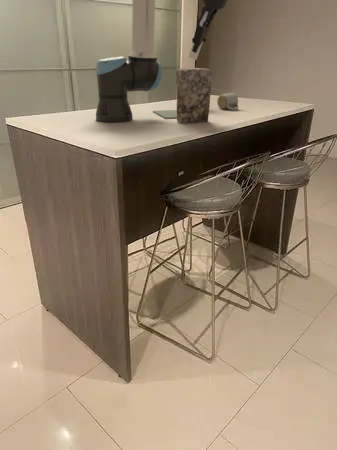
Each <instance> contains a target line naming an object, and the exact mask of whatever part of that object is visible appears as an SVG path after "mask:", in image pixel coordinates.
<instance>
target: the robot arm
mask: <svg viewBox="0 0 337 450" xmlns="http://www.w3.org/2000/svg"><path fill="white" fill-rule="evenodd" d="M202 2H203V3H204V6H203V7H202V9H201V14H200V18H198V20H197V24H196V25H197V26H196V29H195V30H194V31H195V32H194V36H193V37H192V39H191V41H192V42H191V43H192V46H191V48H190V50H189V51H190V52H189V54H188V58H189V59H191V60H193V61H196V60H197V59H198V57H199V54H200V51H201V48H202V45H203V43H204V42H205V43H206V42H207V38H206V37H207V36H208V32H209V31H210V28H211V26H212V23H213V21H214V19H215V18H216V14H217V13H218V11H219V10H222V9H224V8H225V6H226V5H227V2H228V0H202ZM131 13H132V16H131V17H132V23H131V25H132V26H131V27H132V28H131V29H132V30H131V31H132V32H131V33H132V34H131V35H132V39H131V40H132V41H131V42H132V43H131V44H132V45H131V48H132V49H131V52H130V53H128V58H127V59H126V56H114V57H113V56H112V57H106V58H100V59H99V60H97V62H96V72H95V73H96V80H97V92H98V93H97V95H98V102H97V106H96V112H95V120H96V121H98V122H104V123H106V122H107V123H121V122H122V123H124V122H129V121H132V120H133V112H132V109H131V106H130V103H129V100H128V92H129V93H130V92H131V93H132V92H148V91H155V90H156V89H157V88H158V87H159V85H160V84H161V82H162V77H163V68H162V64H161V62H160V61H158V56H157V55H156V53H155V52H154V45H155V43H154V41H155V18H156V0H132V12H131Z"/></svg>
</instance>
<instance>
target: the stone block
mask: <svg viewBox="0 0 337 450" xmlns="http://www.w3.org/2000/svg"><path fill="white" fill-rule="evenodd" d="M175 73H176V77H175V83H176V110H177V118H176V122H178V123H180V124H192V123H194V124H195V123H203V122H209V114H210V107H211V93H212V92H211V91H212V90H211V87H212V76H213V71H212V70H211V69H209V68H204V67H202V68H201V67H200V68H199V67H185V68H184V67H183V68H179V69H177V70H176V72H175Z"/></svg>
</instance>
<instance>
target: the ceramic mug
mask: <svg viewBox="0 0 337 450" xmlns="http://www.w3.org/2000/svg"><path fill="white" fill-rule="evenodd" d="M216 102H217V107H218V108H219V109H220V110H230V111H233V110H236V111H238V109H239V105H238V104H239V99H238V96H237V93H235V92H227V93H222V94H221V95H219V96H218V97H217V101H216Z"/></svg>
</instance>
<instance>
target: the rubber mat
mask: <svg viewBox="0 0 337 450" xmlns="http://www.w3.org/2000/svg"><path fill="white" fill-rule="evenodd" d="M152 113H154V114H156V116H160V117H161V118H163V119H165V120H169V119H171V120H172V119H173V120H174V119H177V109H170V110H169V109H168V110H163V109H162V110H152Z"/></svg>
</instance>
